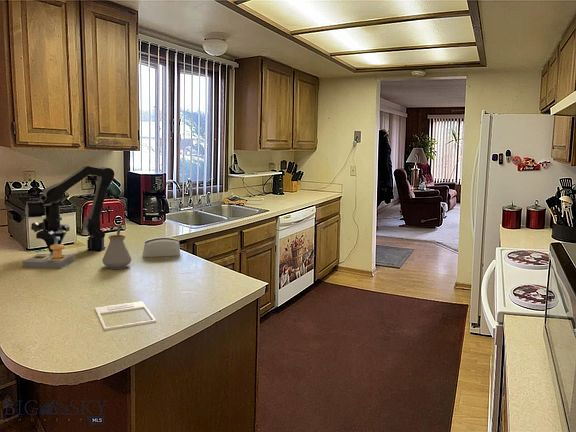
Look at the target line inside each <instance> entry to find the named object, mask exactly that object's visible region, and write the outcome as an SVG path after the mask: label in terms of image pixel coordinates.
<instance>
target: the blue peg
mask: <svg viewBox="0 0 576 432" xmlns="http://www.w3.org/2000/svg"><path fill="white" fill-rule="evenodd" d="M54 237H57V238H56V241H55V244H58V241H59V240H60V236H54ZM49 253H50V254H51V255H53V251H52V252H49Z"/></svg>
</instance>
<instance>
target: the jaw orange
mask: <svg viewBox="0 0 576 432" xmlns="http://www.w3.org/2000/svg"><path fill="white" fill-rule="evenodd" d="M50 249H51V250H53V258H54V259H62V255H63V250H64V249H65V244H63V243H61V244H55V245H51V246H50Z"/></svg>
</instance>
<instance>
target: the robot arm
mask: <svg viewBox="0 0 576 432" xmlns="http://www.w3.org/2000/svg"><path fill="white" fill-rule="evenodd" d="M89 176H96V183H97V186H96V189H95V192H94V197H93V201H92V205H91V209H90V213H89V214H88V216H87V217H86V216H84V217H83V222H82V223H81V226H82V230H83V231H84V232H85V233H86V235H87V236H88V238H87V240H86V241H87V242H86V243H87V244H86V245H87V246H86V247H87V249H86V251H89V252H90V251H91V252H102V251H103V250H105V249H106V246H105V236H106V232H105V231H103V230H102V229H101V215H102V210H103V206H104V203H105V198H106V194H107V191H108V188H109V186H110V185H111V183H112V181H113V180H114V178H115V171H114V169H112V168H111V167H105V166H101V167H94V166H91V165H83V166H81V168H80V169H77V170H76V171H75V172H74V173H72V174H71V175H69V176H68V177H66V178H65V179H63V180H62V181H60V182H58V183H55V184H52V185H50V186H47V187H46V188H44V189H43V192H42V195H41V197H40V198H39V199H38V200H37V201H26V202H25V203H26V205H25V208H24V212H25V216H26V218H27V219H30V218H42V217H43V216H45V218H43V220H42V222H39V223H38V222H37V221H35V222H32V223H31V226H30V228H31V229H30V230H32V231H33V232H34V233H36V234H35V237H36V239H37V240H38V239H39V240H40V239H41V240H43V241H44V242H45V244H46V246H47V249H48V252H49V253H50V252H52V251H53V250H51V249H50V246H51V245H55V241H56V238H57V237H54V236H60V240H59V241H58V244H63V243H62V242H63V240H64V238H65V236H66V235H67V232H70V231H71V230H70V226H69V225H68V224H61V221H62V220H63V218H62V217H61V212H60V208H61V206H65V203H63V201H62V200H60V199H61V198H62V197H63V196H64V195H65V193H67V191H68V190H69V189H70V188H72V187H74V186H75V185H76V184H79V182H81V181H82V180H83V179H85V178H87V177H89ZM64 231H65V232H64Z"/></svg>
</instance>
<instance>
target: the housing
mask: <svg viewBox="0 0 576 432" xmlns="http://www.w3.org/2000/svg"><path fill="white" fill-rule="evenodd" d="M74 261H75V260H74V254H62V259H54V258H53V255H51V254H48V253H46V254H45V253H43V254H42V253H37V254H35V255H32V256H31V257H29V258H26V259H25V260H22V268H31V269H33V268H34V269H56V270H57V269H59V270H60V269H62V268H64V267H66V266H68V265H69V264H71V263H72V262H74Z"/></svg>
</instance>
